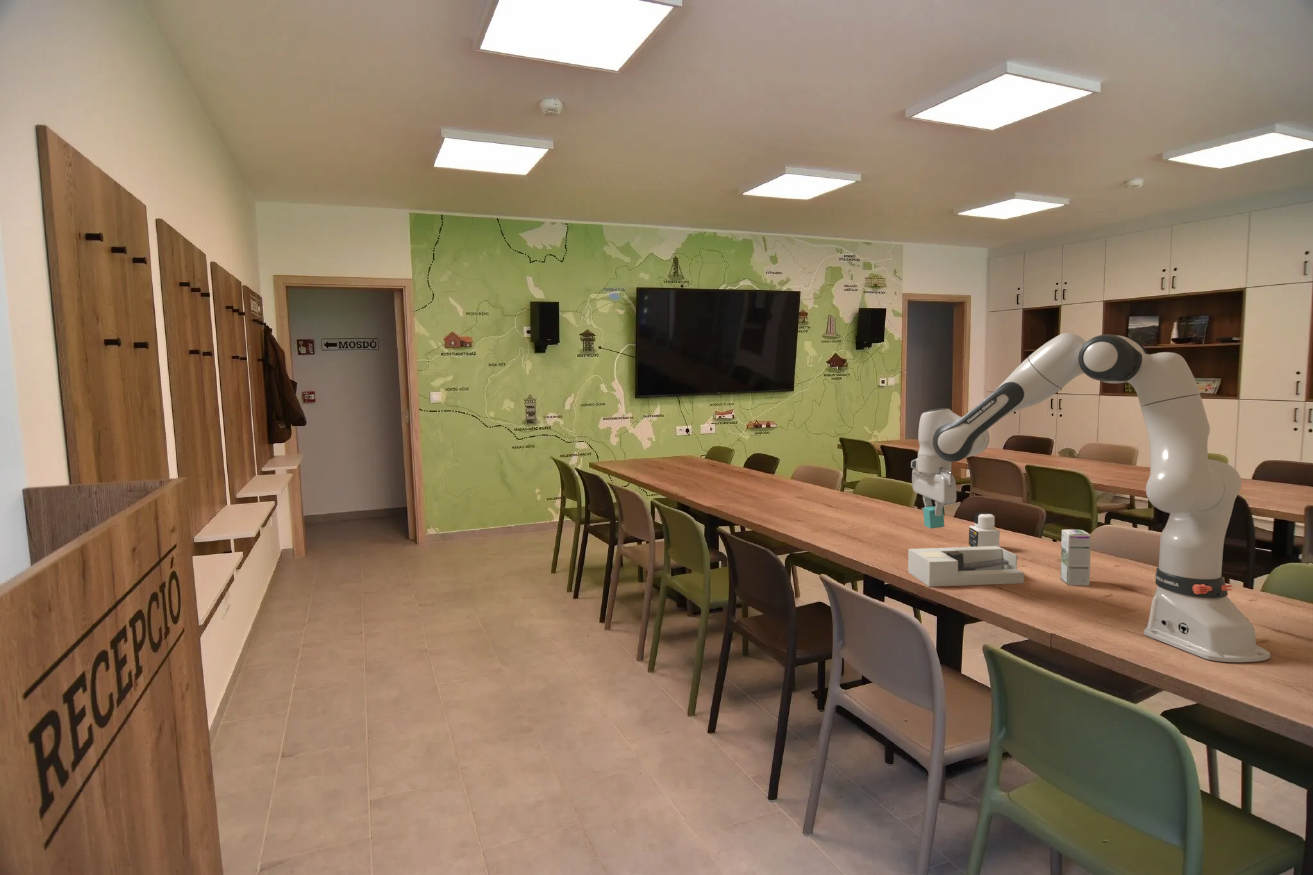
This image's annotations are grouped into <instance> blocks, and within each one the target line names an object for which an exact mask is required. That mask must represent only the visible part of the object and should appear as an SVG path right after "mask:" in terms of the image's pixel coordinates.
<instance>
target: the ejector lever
mask: <svg viewBox="0 0 1313 875" xmlns="http://www.w3.org/2000/svg"><path fill="white" fill-rule="evenodd" d="M947 555H948V556H950V557H952V558H953V559H955V560H957V561H958V571H965V570H972V569H979V568H987V567H994V566H1002V565H1009V562H1008V561H1007V560H1005V559H996V560H988V561H981V562H973V563H966V564H964V561H963V554H962V553H961V552H959V551H953V552H947Z"/></svg>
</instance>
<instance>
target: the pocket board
mask: <svg viewBox="0 0 1313 875" xmlns="http://www.w3.org/2000/svg"><path fill="white" fill-rule="evenodd" d="M953 551H959V552H961V553H962V554H963V561H964V564H966V563H973V562H981V561H988V560H996V559H1005V560H1007V561H1008V562H1009V565H1002V566H994V567H987V568H979V569H972V570H965V571H958V561H957V560H955V559H953V558H952V557H950V556H948V555H947V552H953ZM907 555H908V556H907V557H908V559H907V560H908V563H907V564H908V565H907V572H908V573H909V574H910V575H912V576H913V577H915V578H916V579H917V580H919V581H920V582H922V583H923V584H924V585H926V586H928V587H956V586H957V587H958V586H959V587H960V586H985V585H986V586H987V585H1009V584H1011V585H1012V584H1025V582H1024V581H1025V572H1023V571H1021V570H1019V569H1018V555H1017V554H1015V553H1014V552H1011V551H1008V550H1006V549H1005V548H1002V547H1000V546H999V547H998V546H981V547H969V546H956V547H929V548H925V547H924V548H908V554H907Z"/></svg>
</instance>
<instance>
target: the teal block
mask: <svg viewBox="0 0 1313 875" xmlns="http://www.w3.org/2000/svg"><path fill="white" fill-rule="evenodd" d="M932 506H933V507H925V506H924V507H923V508H922V511H923V512H922V513H923V522H924V523H923V525H924V526H925V527H927V528H928V529H938V528H945V514H944V508H943V509H942V515H941V516H935V515H934V514H933V513H934V512H933V509H935V506H936V505H932Z"/></svg>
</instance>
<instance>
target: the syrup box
mask: <svg viewBox="0 0 1313 875" xmlns="http://www.w3.org/2000/svg"><path fill="white" fill-rule="evenodd" d="M1091 537H1092V534H1090V533H1088V532H1087V531H1085V530H1083V529H1073V528H1071V529H1062V530H1061V541H1060V542H1061V544H1060V549H1061V550H1060V580H1062V581H1063V582H1064V583H1065V584H1066V585H1067V586H1078V587H1079V586H1080V587H1081V586H1082V587H1083V586H1084V587H1089V586H1090V582H1091V578H1090V576H1091V545H1092V544H1091V540H1092V538H1091Z"/></svg>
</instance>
